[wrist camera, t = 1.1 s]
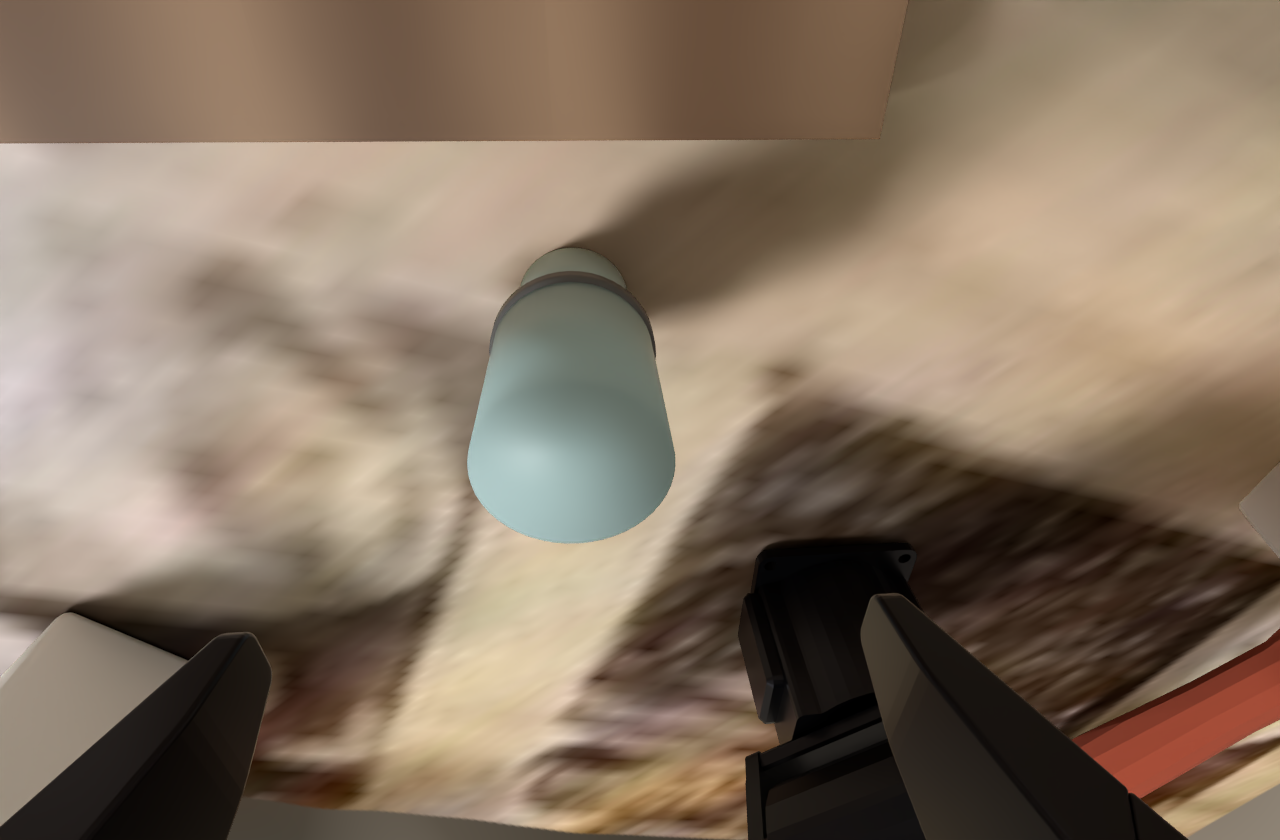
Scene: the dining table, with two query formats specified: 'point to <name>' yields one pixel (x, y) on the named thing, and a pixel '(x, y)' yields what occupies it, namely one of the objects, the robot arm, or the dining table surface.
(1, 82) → the socket board
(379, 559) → the dining table surface
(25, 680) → the medicine bottle
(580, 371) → the stepped peg
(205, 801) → the robot arm
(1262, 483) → the mallet
